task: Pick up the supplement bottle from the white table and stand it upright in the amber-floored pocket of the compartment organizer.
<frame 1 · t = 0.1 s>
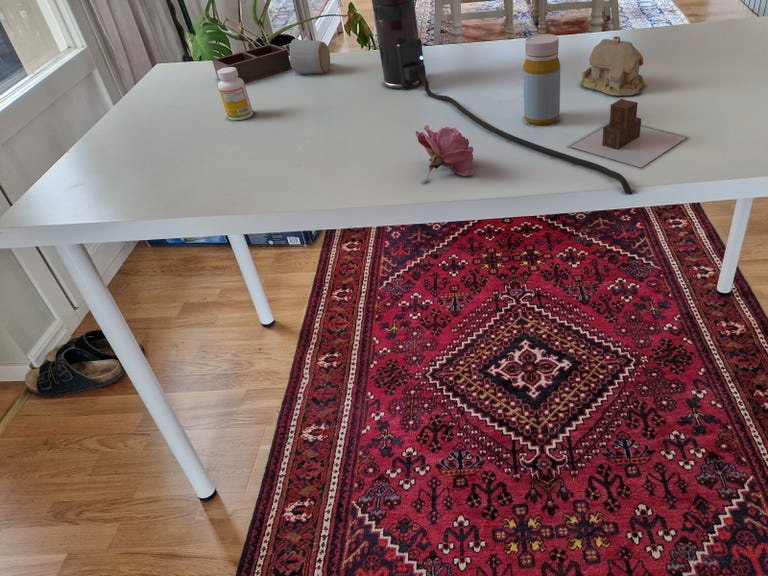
compartment organizer: (255, 73, 163), on the table
bottle: (541, 120, 128), on the table
flower: (447, 170, 114), on the table
ceramic model: (612, 87, 139), on the table
supplement bottle: (241, 117, 141), on the table
ceramic mug: (314, 71, 161), on the table
stack of crates: (628, 143, 117), on the table
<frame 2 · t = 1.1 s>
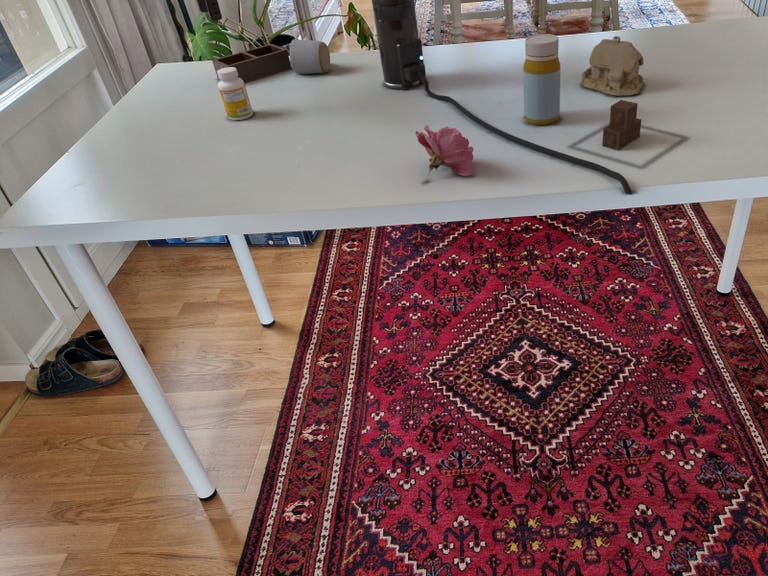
hand: (211, 15, 131), 19 cm above the table, tool pointing down, fingers open, 8 cm apart
nothing on the table moved.
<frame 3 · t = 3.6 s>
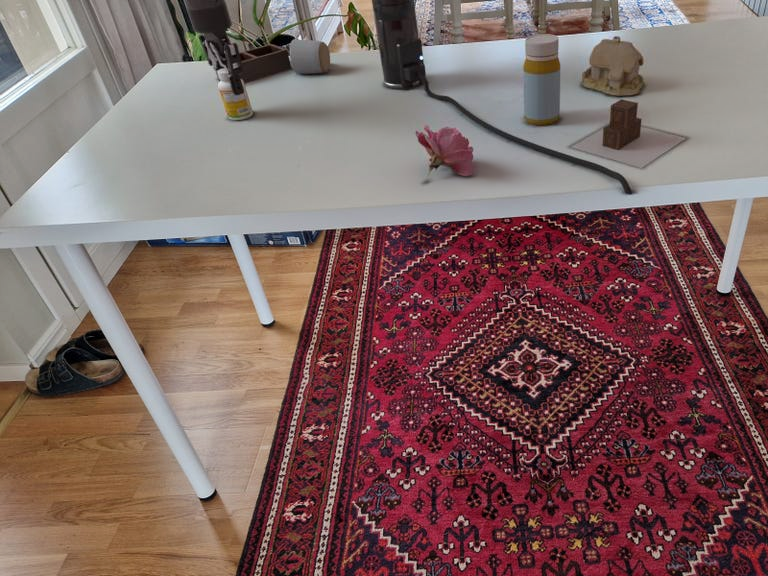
hand: (232, 90, 137), 5 cm above the table, tool pointing down, fingers closed on supplement bottle, 5 cm apart
supplement bottle: (241, 117, 141), on the table, touching gripper
everything else where it was.
when the fingers open (6 cm above the table, at t = 10.6 s): supplement bottle stays where it is, resting on compartment organizer.
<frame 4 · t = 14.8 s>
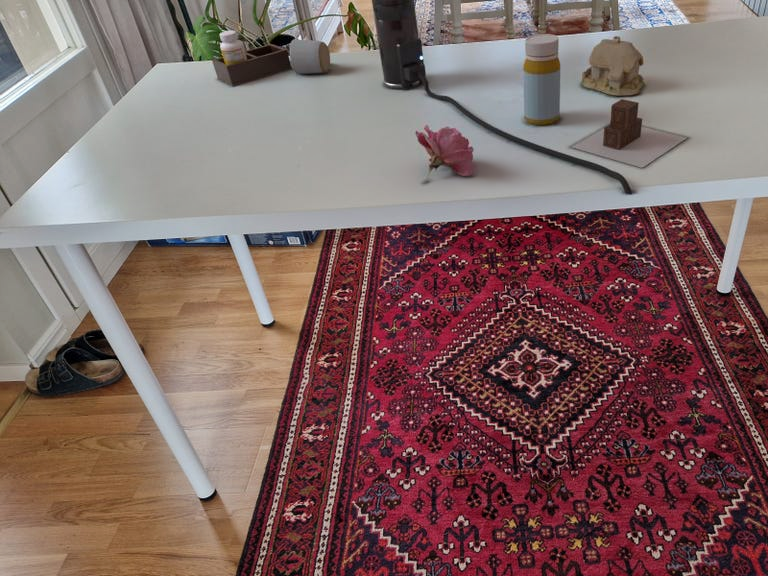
supplement bottle: (240, 75, 160), point 1 cm above the table, touching compartment organizer
everything else where it was.
at the end: supplement bottle 0.1 cm from the target spot in the compartment organizer, point 0.6 cm above the compartment organizer's base; supplement bottle tilted 0°; the gripper is holding nothing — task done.
